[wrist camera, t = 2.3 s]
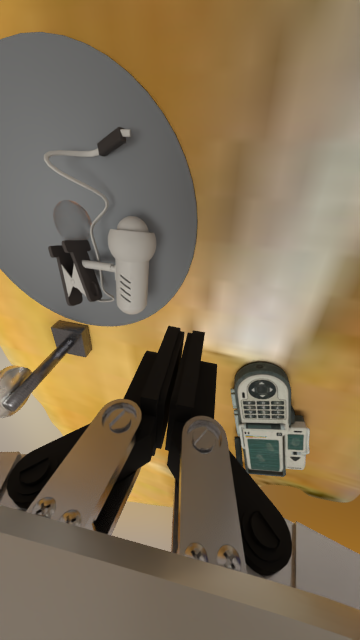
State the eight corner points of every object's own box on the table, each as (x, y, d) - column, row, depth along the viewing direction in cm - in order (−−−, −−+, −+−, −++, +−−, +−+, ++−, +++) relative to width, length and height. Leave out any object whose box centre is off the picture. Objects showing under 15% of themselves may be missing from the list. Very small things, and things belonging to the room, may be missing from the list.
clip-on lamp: (68, 143, 25) (80, 298, 32) (17, 116, 20) (43, 311, 26) (168, 144, 23) (158, 312, 29) (142, 113, 17) (137, 330, 24)
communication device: (307, 355, 32) (330, 407, 25) (301, 449, 44) (315, 503, 37) (222, 359, 36) (221, 407, 28) (237, 446, 47) (239, 495, 40)
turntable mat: (-110, 25, 21) (-113, 24, 20) (221, 42, 18) (220, 40, 17) (4, 307, 37) (3, 308, 37) (183, 341, 34) (183, 342, 34)
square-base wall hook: (58, 317, 36) (-30, 393, 24) (87, 323, 36) (13, 402, 24) (65, 346, 40) (-9, 424, 27) (92, 351, 39) (29, 434, 27)
